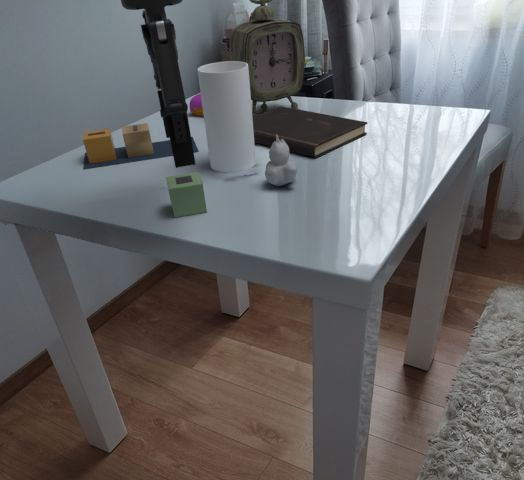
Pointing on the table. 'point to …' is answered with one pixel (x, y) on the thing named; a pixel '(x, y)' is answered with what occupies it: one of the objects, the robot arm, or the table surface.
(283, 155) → the rubber duck
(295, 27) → the tabletop clock
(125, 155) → the word mat
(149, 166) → the table surface
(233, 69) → the cup
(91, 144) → the amber wooden block
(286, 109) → the hardcover book
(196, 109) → the purple rounded lump
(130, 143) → the light wooden block
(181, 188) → the pale green block
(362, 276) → the table surface
